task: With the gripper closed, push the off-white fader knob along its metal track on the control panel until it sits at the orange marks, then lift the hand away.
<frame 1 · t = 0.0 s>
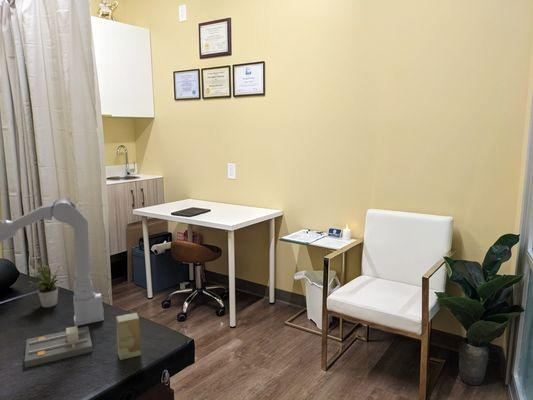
house plant: (46, 304, 161), on the table
control panel: (59, 348, 129), on the table
skincare box: (129, 355, 125), on the table
fader: (72, 334, 130), point 4 cm above the table, slide at 0.0 cm
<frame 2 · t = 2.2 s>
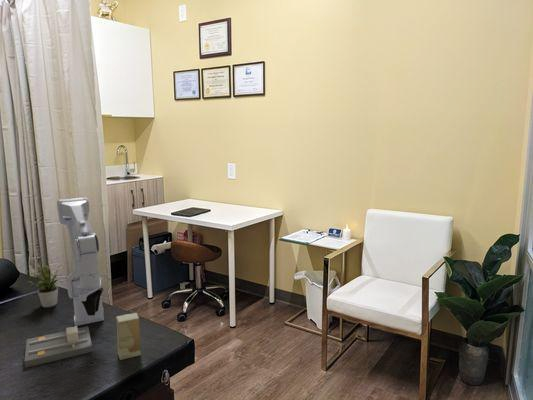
hand: (93, 313, 132), 9 cm above the table, tool pointing down, fingers closed
nothing on the table moved.
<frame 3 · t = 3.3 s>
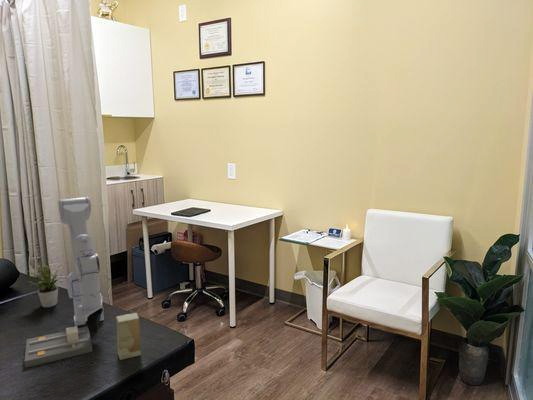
hand: (94, 332, 133), 3 cm above the table, tool pointing down, fingers closed
nothing on the table moved.
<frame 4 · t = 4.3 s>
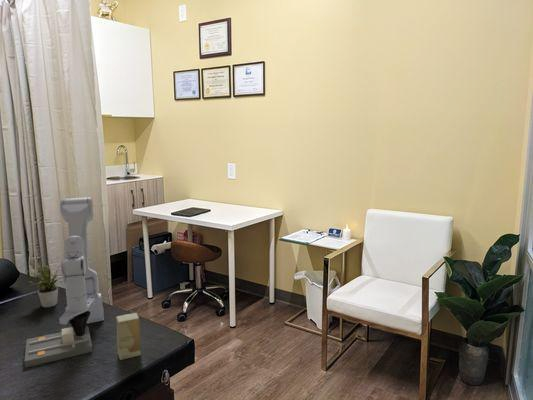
hand: (80, 335, 131), 3 cm above the table, tool pointing down, fingers closed
fader: (67, 335, 129), point 4 cm above the table, slide at 1.3 cm, touching gripper
everything else where it was.
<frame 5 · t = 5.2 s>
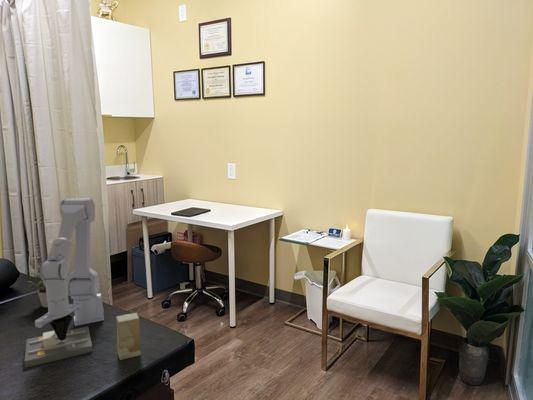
hand: (61, 339, 128), 3 cm above the table, tool pointing down, fingers closed
fader: (49, 339, 127), point 4 cm above the table, slide at 6.5 cm, touching gripper
everything else where it was.
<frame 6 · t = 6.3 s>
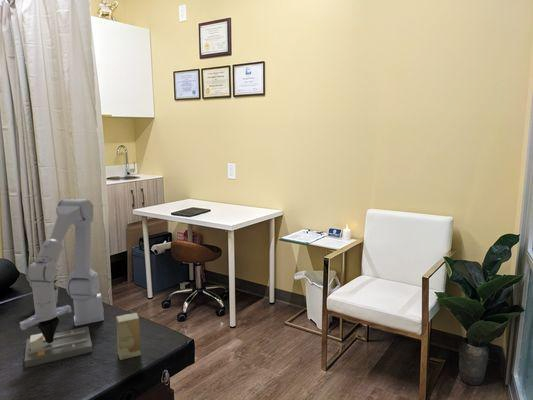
hand: (49, 341, 127), 3 cm above the table, tool pointing down, fingers closed
fader: (36, 342, 125), point 4 cm above the table, slide at 9.9 cm, touching gripper
everything else where it was.
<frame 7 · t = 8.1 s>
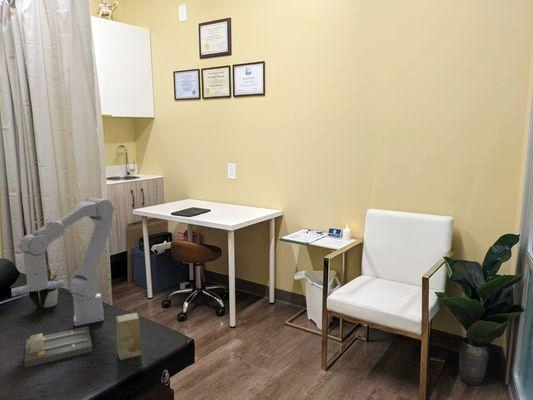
hand: (41, 312, 133), 9 cm above the table, tool pointing down, fingers closed
fader: (36, 342, 125), point 4 cm above the table, slide at 9.9 cm
everything else where it was.
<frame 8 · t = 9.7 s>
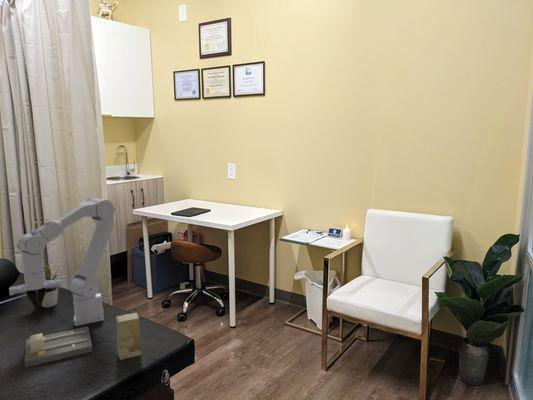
hand: (38, 311, 133), 9 cm above the table, tool pointing down, fingers closed
nothing on the table moved.
at the end: fader slide at 9.9 cm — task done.
